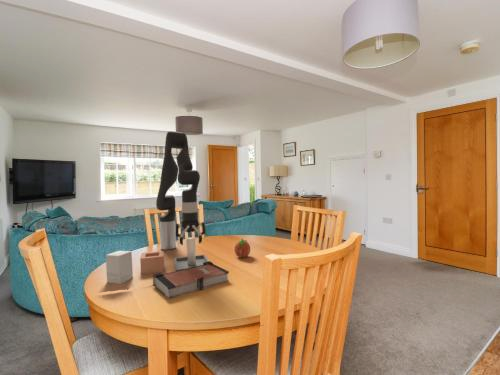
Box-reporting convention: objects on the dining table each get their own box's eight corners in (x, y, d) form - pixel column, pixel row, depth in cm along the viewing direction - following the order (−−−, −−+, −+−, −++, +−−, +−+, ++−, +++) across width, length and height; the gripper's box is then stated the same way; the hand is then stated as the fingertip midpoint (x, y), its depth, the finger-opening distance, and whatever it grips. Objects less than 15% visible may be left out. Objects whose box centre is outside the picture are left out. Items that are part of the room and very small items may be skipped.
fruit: (231, 258, 146) (231, 240, 146) (239, 253, 155) (238, 236, 155) (246, 260, 143) (246, 241, 143) (253, 255, 152) (252, 237, 151)
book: (169, 301, 98) (168, 287, 98) (153, 286, 112) (152, 274, 112) (230, 282, 114) (229, 270, 114) (209, 271, 128) (209, 261, 128)
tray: (174, 262, 142) (173, 257, 142) (204, 259, 147) (204, 254, 147) (176, 275, 123) (175, 270, 123) (211, 270, 128) (211, 265, 128)
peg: (187, 263, 136) (186, 237, 135) (195, 262, 137) (194, 237, 137) (187, 266, 132) (187, 239, 132) (196, 265, 133) (195, 238, 133)
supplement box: (133, 279, 119) (132, 251, 118) (120, 286, 112) (119, 255, 111) (120, 278, 121) (118, 250, 121) (106, 284, 114) (105, 254, 114)
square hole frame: (142, 269, 132) (141, 253, 132) (164, 266, 135) (163, 250, 135) (141, 276, 123) (140, 258, 123) (164, 273, 126) (163, 256, 126)
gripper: (203, 209, 139) (204, 240, 140) (174, 211, 135) (175, 243, 136) (205, 211, 132) (206, 244, 133) (175, 213, 128) (176, 247, 129)
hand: (190, 243), depth 134 cm, fingers open, 8 cm apart
